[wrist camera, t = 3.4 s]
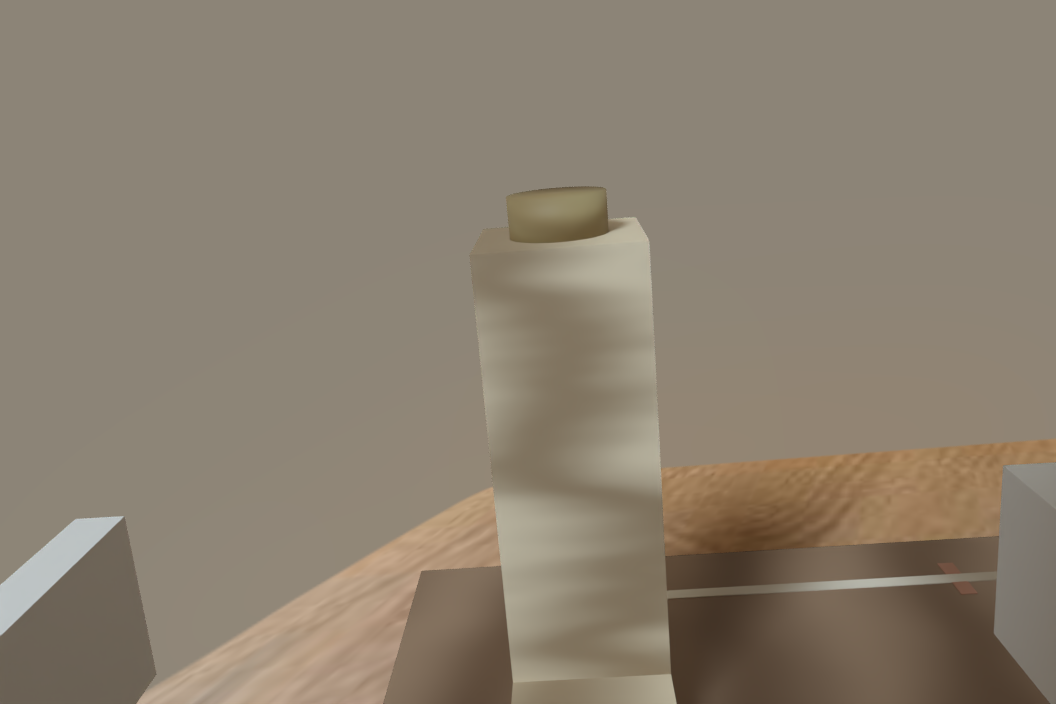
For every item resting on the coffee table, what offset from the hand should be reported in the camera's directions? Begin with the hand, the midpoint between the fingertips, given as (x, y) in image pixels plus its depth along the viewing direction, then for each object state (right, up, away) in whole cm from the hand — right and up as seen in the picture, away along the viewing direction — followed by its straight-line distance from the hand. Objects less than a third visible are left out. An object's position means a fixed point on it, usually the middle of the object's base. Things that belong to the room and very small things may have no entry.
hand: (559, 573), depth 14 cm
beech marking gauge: (+1, -6, +12) cm, 14 cm away
